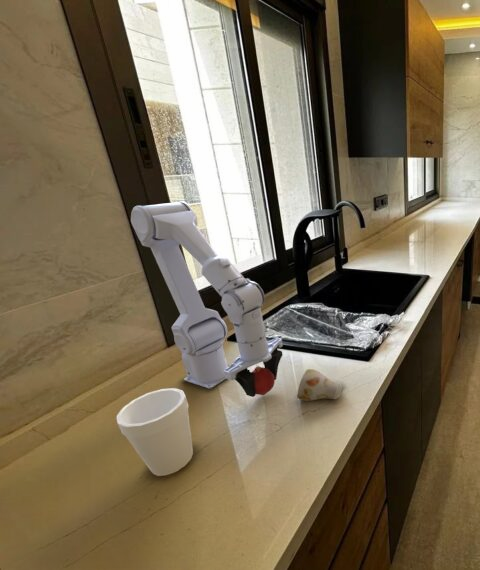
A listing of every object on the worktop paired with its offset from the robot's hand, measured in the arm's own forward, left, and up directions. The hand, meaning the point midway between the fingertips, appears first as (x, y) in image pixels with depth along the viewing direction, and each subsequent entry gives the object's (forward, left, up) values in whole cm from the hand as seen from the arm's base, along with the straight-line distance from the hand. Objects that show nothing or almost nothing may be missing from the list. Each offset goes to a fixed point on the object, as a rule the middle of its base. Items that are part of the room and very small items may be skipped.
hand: (261, 386), depth 77 cm
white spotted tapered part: (+13, +5, -3) cm, 14 cm away
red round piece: (0, 0, -2) cm, 2 cm away
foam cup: (-2, -20, -3) cm, 20 cm away
